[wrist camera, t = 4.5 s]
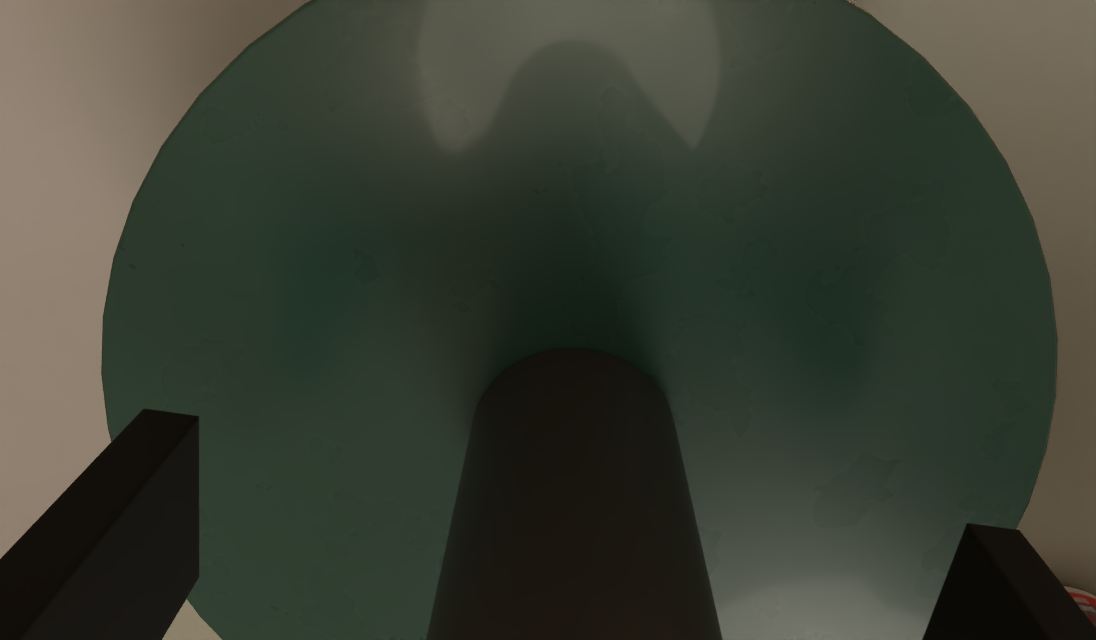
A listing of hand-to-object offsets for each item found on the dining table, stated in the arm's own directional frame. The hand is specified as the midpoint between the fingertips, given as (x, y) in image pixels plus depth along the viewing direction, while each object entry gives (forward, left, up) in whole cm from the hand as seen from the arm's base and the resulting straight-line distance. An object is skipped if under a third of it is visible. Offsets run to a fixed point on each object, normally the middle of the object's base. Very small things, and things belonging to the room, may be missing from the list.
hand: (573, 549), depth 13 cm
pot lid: (0, 0, -4) cm, 4 cm away
